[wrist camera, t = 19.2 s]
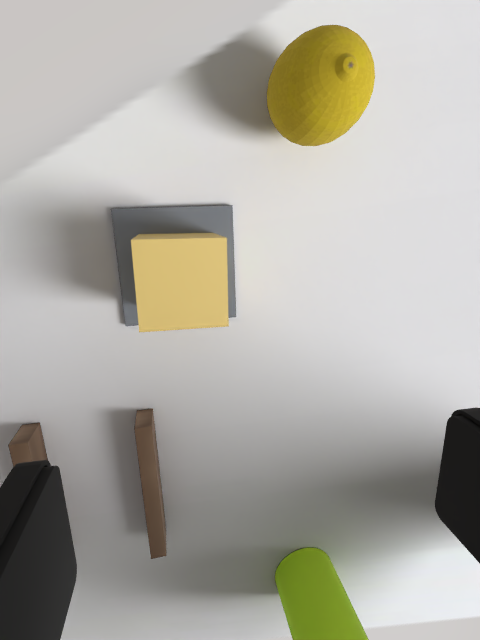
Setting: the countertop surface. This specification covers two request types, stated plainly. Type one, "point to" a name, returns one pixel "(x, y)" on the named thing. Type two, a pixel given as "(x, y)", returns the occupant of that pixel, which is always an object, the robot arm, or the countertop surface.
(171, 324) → the ochre block
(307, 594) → the soap dispenser
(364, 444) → the countertop surface
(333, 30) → the lemon
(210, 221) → the slate coaster
